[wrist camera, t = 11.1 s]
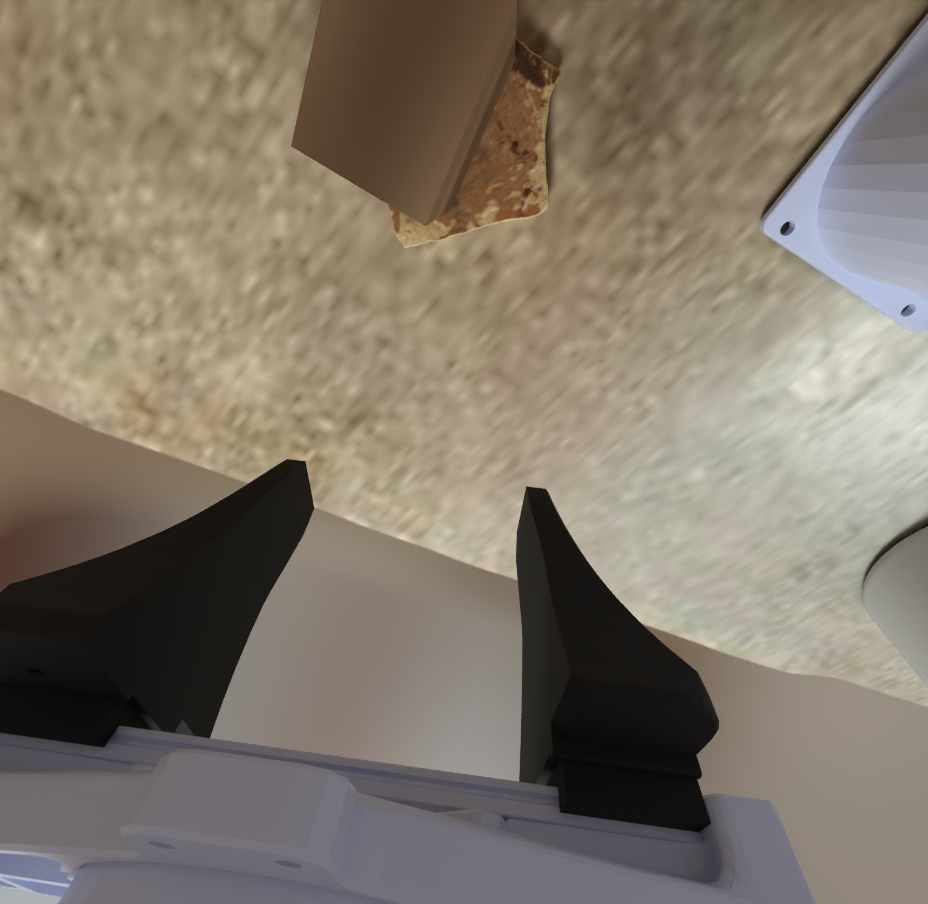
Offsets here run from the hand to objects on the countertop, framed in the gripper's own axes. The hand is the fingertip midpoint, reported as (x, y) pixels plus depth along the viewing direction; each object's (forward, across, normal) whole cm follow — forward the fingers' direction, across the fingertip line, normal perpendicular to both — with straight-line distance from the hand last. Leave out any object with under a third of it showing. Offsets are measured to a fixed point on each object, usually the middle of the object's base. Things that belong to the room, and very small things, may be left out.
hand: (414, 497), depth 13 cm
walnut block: (+9, +1, -11) cm, 14 cm away
